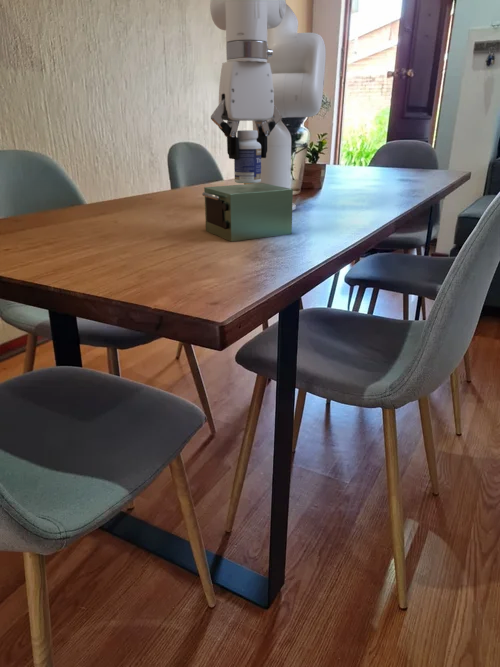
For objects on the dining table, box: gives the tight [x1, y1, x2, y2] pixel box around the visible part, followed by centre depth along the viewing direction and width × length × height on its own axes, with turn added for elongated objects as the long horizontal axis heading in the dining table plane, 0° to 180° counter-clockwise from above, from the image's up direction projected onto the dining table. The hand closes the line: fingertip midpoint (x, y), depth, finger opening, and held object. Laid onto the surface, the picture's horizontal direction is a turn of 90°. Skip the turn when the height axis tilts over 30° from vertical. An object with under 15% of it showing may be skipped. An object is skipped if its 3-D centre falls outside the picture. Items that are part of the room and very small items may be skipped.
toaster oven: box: [202, 183, 294, 243], centre depth 105 cm, size 12×15×9 cm
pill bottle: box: [233, 129, 261, 184], centre depth 101 cm, size 5×5×10 cm
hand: (247, 157), depth 101 cm, fingers closed on pill bottle, 5 cm apart
